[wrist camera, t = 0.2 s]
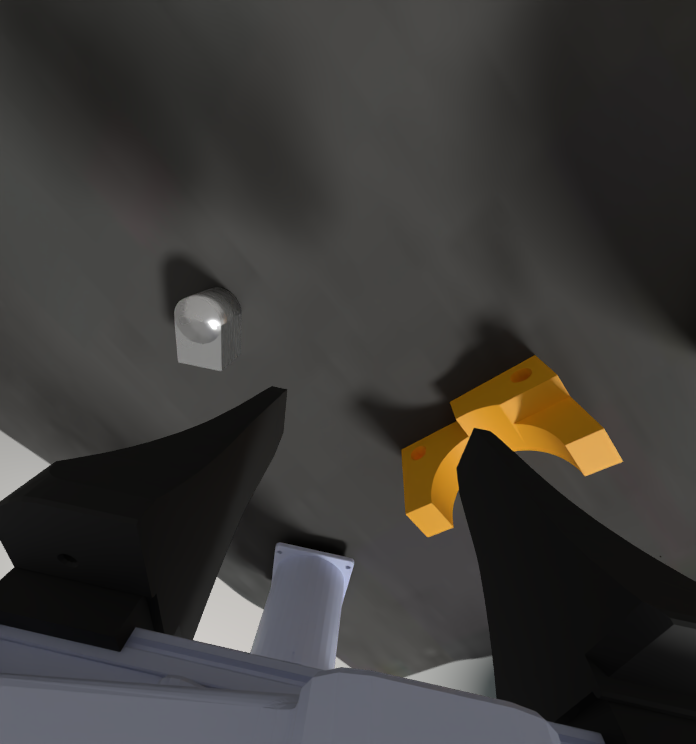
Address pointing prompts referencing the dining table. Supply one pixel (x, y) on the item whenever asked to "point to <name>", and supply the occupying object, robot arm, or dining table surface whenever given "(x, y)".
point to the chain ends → (208, 329)
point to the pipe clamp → (501, 437)
